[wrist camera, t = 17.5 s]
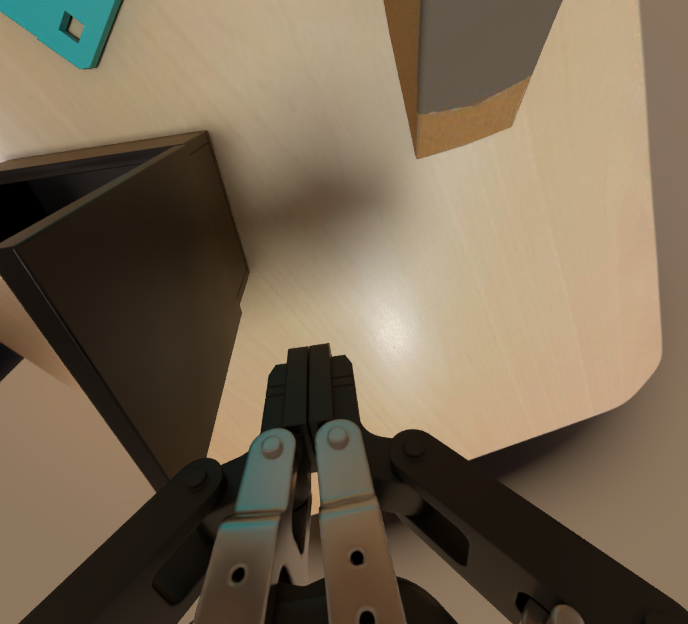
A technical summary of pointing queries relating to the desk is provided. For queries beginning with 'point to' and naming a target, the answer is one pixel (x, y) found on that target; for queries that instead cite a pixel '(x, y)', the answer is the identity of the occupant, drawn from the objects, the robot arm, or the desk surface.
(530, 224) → the desk surface
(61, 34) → the diskette
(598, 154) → the desk surface
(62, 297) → the lid
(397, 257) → the desk surface
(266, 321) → the desk surface
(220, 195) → the dark brown box
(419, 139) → the sandwich container
